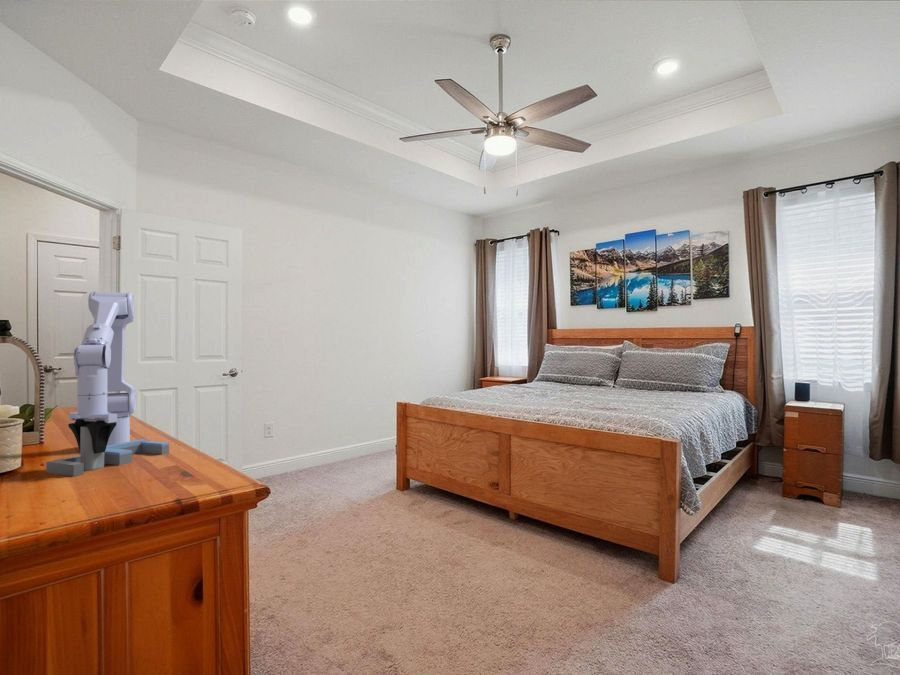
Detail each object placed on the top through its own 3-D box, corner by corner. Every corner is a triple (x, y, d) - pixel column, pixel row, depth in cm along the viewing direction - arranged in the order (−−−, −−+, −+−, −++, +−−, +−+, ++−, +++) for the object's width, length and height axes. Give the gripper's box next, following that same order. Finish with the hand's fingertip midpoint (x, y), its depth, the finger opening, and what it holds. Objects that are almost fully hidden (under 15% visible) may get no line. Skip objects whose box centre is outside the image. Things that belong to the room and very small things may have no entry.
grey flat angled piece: (46, 472, 108) (46, 461, 108) (143, 451, 130) (143, 442, 130) (73, 476, 104) (73, 464, 105) (169, 454, 126) (169, 444, 126)
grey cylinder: (109, 466, 113) (109, 423, 114) (93, 471, 109) (93, 426, 109) (91, 466, 114) (92, 423, 114) (75, 470, 109) (75, 426, 110)
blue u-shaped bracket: (92, 452, 118) (92, 448, 118) (143, 442, 130) (143, 438, 130) (119, 455, 114) (119, 451, 114) (169, 444, 126) (169, 440, 126)
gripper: (54, 395, 111) (54, 453, 110) (94, 397, 105) (94, 457, 105) (86, 392, 117) (86, 447, 117) (126, 394, 112) (126, 451, 112)
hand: (92, 451), depth 111 cm, fingers closed on grey cylinder, 4 cm apart
